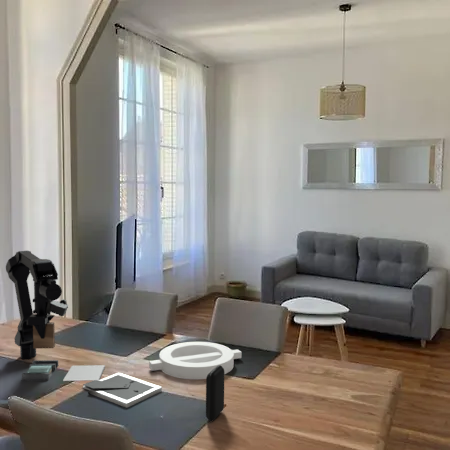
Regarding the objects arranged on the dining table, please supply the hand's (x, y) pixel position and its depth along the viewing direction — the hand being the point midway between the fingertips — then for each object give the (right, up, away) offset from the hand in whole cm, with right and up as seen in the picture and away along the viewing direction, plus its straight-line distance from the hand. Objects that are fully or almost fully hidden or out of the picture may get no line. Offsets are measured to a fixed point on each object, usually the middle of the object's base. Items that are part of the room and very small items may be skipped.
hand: (43, 337), depth 186 cm
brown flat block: (0, -4, 0) cm, 4 cm away
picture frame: (+32, -15, -15) cm, 38 cm away
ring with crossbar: (+55, -13, +9) cm, 57 cm away
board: (+16, -13, -3) cm, 20 cm away
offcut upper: (0, -11, -5) cm, 12 cm away
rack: (0, -13, -3) cm, 13 cm away
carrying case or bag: (+63, -17, -32) cm, 73 cm away
